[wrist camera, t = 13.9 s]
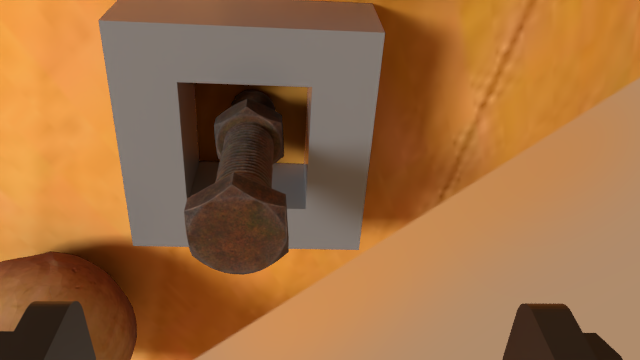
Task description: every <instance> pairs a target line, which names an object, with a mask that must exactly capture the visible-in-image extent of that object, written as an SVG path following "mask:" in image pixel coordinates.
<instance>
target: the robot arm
mask: <svg viewBox="0 0 640 360" xmlns="http://www.w3.org/2000/svg"><path fill="white" fill-rule="evenodd" d="M0 360H96V356H95V352H94V349H93V345H92V341H91V337H90V334H89V330H88V326H87V323H86V319H85V315H84V311H83V308H82V306H81V304H80V303H79V302H78V301H34V302H32V303H31V304H30V305H29V306H28V307H27V309H26V310H25V312H24V314H23V316H22V317H21V319H20V321H19V323H18V324H17V326H16V328H15V330H14V331H0ZM503 360H623V359H622V358H621V356H620V355H619V354H618V353H617V352H616V351H615V350H614V349H612V348H611V347H610V346H609V345H608V344H607V343H606V342H605V341H604V340H603V339H602V338H600V337H599V336H598V335H597V334H596V333H582V331H581V329H580V327H579V325H578V323H577V322H576V320H575V318H574V316H573V315H572V312H571V311H570V309H569V308H568V307H567V306H566V305H564V304H521V305H520V307H519V308H518V310H517V313H516V316H515V320H514V323H513V326H512V329H511V333H510V336H509V339H508V343H507V346H506V349H505V353H504V356H503Z"/></svg>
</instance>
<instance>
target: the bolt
mask: <svg viewBox="0 0 640 360" xmlns="http://www.w3.org/2000/svg"><path fill="white" fill-rule="evenodd" d="M214 133H215V143H216V150H217V155H218V159H220V163H219V167H218V172H217V178H216V182H215V183H214V184H212V185H210V186H208V187H207V188H205V189H203V190H201V191H199V192H198V193H196V194H194V195H192V196H190V197H189V198H187V201H186V205H185V209H184V218H185V229H186V235H187V240H188V244H189V249H190V252H191V254H192V256H193V257H195V258H196V259H198V260H199V261H200V262H202V263H203V264H205V265H207V266H209V267H211V268H213V269H215V270H218V271H221V272H224V273H230V274H249V273H254V272H257V271H260V270H262V269H264V268H266V267H268V266H270V265H272V264H273V263H275V262H276V261H278V260H279V259H280V258H281V257H283V256H284V255H285V254H286V253H288V247H289V236H288V220H287V204H286V194H284V193H282V192H279V191H277V190H274V189H272V173H273V172H272V170H273V167H272V165H273V164H274V163H276V162H277V161H278V160H280V159H281V158H282V157H283V156H284V142H283V124H282V115H280V114H279V113H278V112H276V111H275V106H274V104H273V102H272V100H271V99H270V98H269V97H268V96H267V95H266V94H264V93H262V92H259V91H255V90H247V91H243V92H241V93H240V94H238V95H237V96H236V97H235V100H234V101H233V102H232V105H231V107H230V108H228V109H227V110H225V111H224V112H223V113H221V114H220V115H219V116H217V117H216V119H215V123H214Z"/></svg>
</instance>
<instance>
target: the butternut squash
mask: <svg viewBox="0 0 640 360" xmlns="http://www.w3.org/2000/svg"><path fill="white" fill-rule="evenodd" d="M34 301H78V302H79V303H80V304H81V306H82V308H83V311H84V315H85V319H86V323H87V326H88V330H89V334H90V337H91V341H92V345H93V349H94V352H95V356H96V360H130V359H131V357H132V354H133V351H134V347H135V343H136V338H137V325H136V318H135V314H134V311H133V307H132V305H131V303H130V302H129V300H128V298H127V297H126V295H125V294H124V292H123V291H122V290H121V288H120V287H119V286H118V285H117V283H116V282H115V281H114V280H113V279H112V278H111V277H110V276H109V275H108V273H107V272H105V271H104V270H102V269H101V268H99V267H98V266H96V265H95V264H93V263H91V262H89V261H87V260H85V259H83V258H81V257H78V256H75V255H71V254H66V253H57V252H47V253H44V254H39V255H34V256H29V257H23V258H17V259H12V260H6V261H2V262H0V331H14V330H15V328H16V326H17V324H18V323H19V321H20V319H21V317H22V316H23V314H24V312H25V310H26V309H27V307H28V306H29V305H30V304H31V303H32V302H34Z"/></svg>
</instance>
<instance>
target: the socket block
mask: <svg viewBox="0 0 640 360" xmlns="http://www.w3.org/2000/svg"><path fill="white" fill-rule="evenodd" d="M99 26H100V33H101V39H102V46H103V53H104V59H105V66H106V72H107V79H108V85H109V92H110V98H111V105H112V111H113V118H114V124H115V131H116V137H117V144H118V150H119V157H120V163H121V170H122V176H123V183H124V189H125V196H126V202H127V209H128V215H129V222H130V228H131V235H132V241H133V246H172V247H189V244H188V240H187V235H186V229H185V218H184V209H185V205H186V201H187V198H189V197H190V196H192V195H194V194H196V193H198V192H199V191H201V190H203V189H205V188H207V187H208V186H210V185H212V184H214V183H215V182H216V178H217V172H218V167H219V163H220V162H215V161H199V147H198V132H197V117H196V102H195V86H194V83H213V84H240V85H268V86H295V87H308V92H307V113H306V133H305V153H304V164H288V163H274V164H273V165H272V167H273V170H272V172H273V173H272V189H274V190H277V191H279V192H282V193H284V194H286V204H287V220H288V236H289V247H288V249H344V250H359V244H360V235H361V227H362V219H363V211H364V202H365V194H366V186H367V178H368V170H369V161H370V153H371V145H372V137H373V128H374V120H375V112H376V104H377V96H378V87H379V79H380V71H381V63H382V55H383V46H384V38H385V31H384V29H383V27H382V24H381V22H380V20H379V17H378V15H377V13H376V10H375V8H374V6H373V4H372V3H351V2H329V1H308V0H117V1H116V2H115V3H114V4H113V6H112V7H111V8H110V9H109V10H108V11H107V12H106V13H105V14H104V15H103V16H102V17H101V18H100V19H99Z"/></svg>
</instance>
